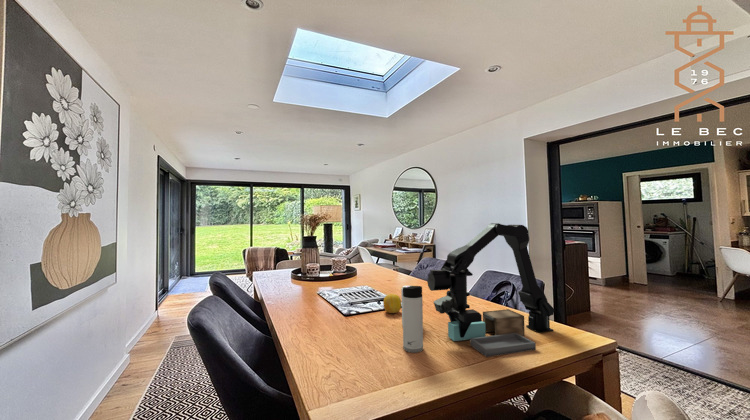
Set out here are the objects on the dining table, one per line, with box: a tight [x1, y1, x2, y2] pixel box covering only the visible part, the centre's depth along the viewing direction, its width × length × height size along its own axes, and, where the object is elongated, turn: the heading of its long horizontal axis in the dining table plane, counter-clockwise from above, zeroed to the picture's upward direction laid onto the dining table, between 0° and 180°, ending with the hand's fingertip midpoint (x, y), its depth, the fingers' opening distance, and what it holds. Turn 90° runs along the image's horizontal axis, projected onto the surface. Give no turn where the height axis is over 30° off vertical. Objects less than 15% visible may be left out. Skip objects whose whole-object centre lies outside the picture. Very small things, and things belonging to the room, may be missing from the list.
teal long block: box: [447, 320, 487, 342], centre depth 103 cm, size 12×4×5 cm, turn 105°
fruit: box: [382, 293, 402, 314], centre depth 132 cm, size 9×8×8 cm
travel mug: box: [402, 285, 424, 354], centre depth 95 cm, size 6×7×20 cm
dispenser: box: [482, 309, 526, 337], centre depth 107 cm, size 12×8×7 cm
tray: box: [469, 333, 537, 358], centre depth 95 cm, size 18×9×2 cm, turn 105°
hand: (458, 334), depth 102 cm, fingers closed on teal long block, 4 cm apart
